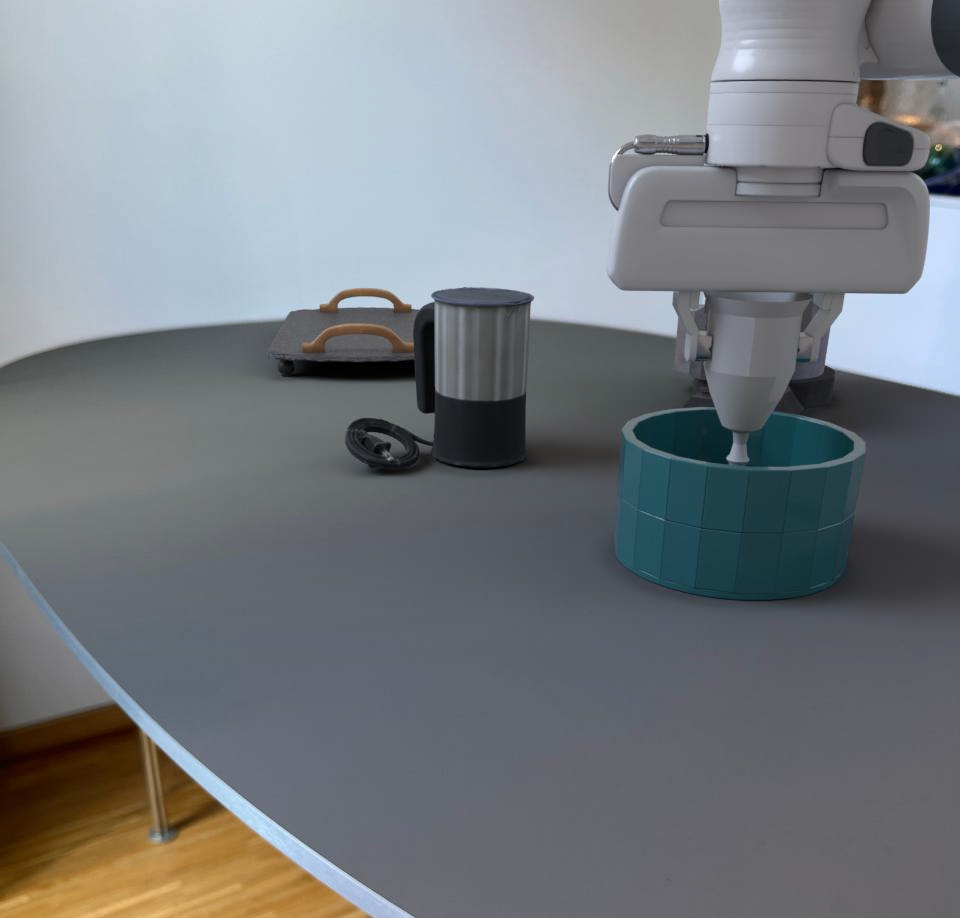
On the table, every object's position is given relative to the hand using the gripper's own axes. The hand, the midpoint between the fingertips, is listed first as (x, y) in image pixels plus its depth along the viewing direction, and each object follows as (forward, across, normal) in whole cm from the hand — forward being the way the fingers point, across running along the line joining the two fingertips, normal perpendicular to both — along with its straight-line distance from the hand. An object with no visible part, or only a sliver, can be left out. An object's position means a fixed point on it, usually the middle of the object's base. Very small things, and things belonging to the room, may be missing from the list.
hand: (750, 360), depth 73 cm
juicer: (+14, +13, +48) cm, 52 cm away
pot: (+14, 0, 0) cm, 14 cm away
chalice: (+14, 0, 0) cm, 14 cm away
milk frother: (+14, -22, +24) cm, 36 cm away
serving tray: (+14, -34, +76) cm, 84 cm away
